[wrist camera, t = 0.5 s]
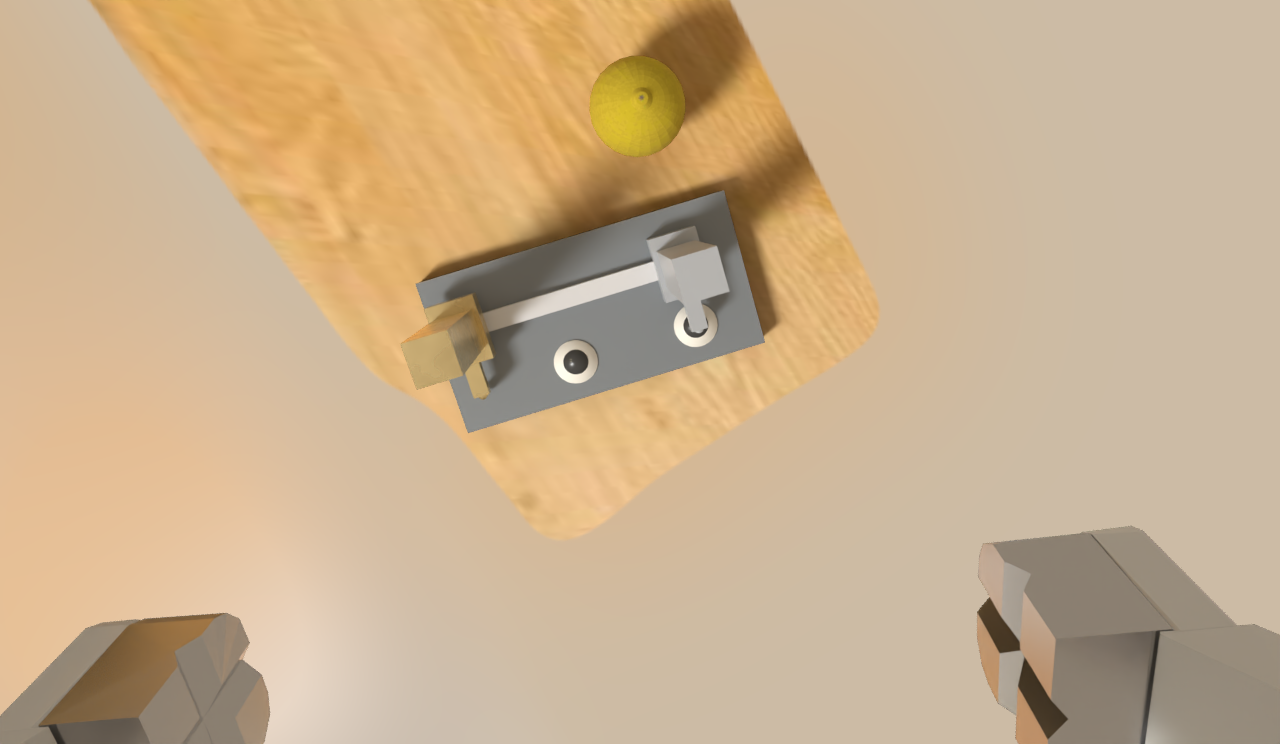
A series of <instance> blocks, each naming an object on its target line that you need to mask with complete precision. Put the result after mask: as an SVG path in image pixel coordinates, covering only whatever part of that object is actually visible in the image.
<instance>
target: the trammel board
mask: <svg viewBox="0 0 1280 744" xmlns="http://www.w3.org/2000/svg"><path fill="white" fill-rule="evenodd" d="M416 287H417V290H418V292H419V295H420V298H421V301H422V304H423V307H424V309H425V308H427V307H429V306H432V305H435V304H439V303H442V302H445V301H449V300H452V299H455V298H458V297H462V296H465V295H468V294H472V293H476V296H477V299H478V301H479V304H480V307H481V310H482V313H483V316H484V319H485V322H486V325H487V328H488V331H489V334H490V337H491V340H492V343H493V346H494V349H495V352H496V355H495V357H494V358H492V359H489V360H486V361H482V362H481V363H482V366H483V369H484V372H485V375H486V378H487V381H488V384H489V387H490V390H491V392H490V394H488V396H487V398H486V399H484V400H482V399H480V398H479V397H478V398H475V399H474V397H473V395H472V392H471V389H470V386H469V383H468V380H467V377H466V374H464V375H463V376H460V377H457V378H454V379H451V380H450V383H451V386H452V389H453V392H454V394H455V397H456V400H457V403H458V406H459V409H460V411H461V414H462V417H463V420H464V423H465V426H466V428H467V431H468V433H470V432H473V431H477V430H480V429H483V428H486V427H490V426H493V425H496V424H499V423H503V422H506V421H509V420H513V419H516V418H519V417H522V416H526V415H529V414H532V413H535V412H539V411H542V410H545V409H549V408H552V407H555V406H558V405H562V404H565V403H568V402H571V401H575V400H578V399H581V398H585V397H588V396H591V395H594V394H598V393H601V392H604V391H607V390H611V389H614V388H617V387H621V386H624V385H627V384H630V383H634V382H637V381H640V380H643V379H647V378H650V377H653V376H657V375H660V374H663V373H666V372H670V371H673V370H676V369H679V368H683V367H686V366H689V365H693V364H696V363H699V362H702V361H706V360H709V359H712V358H715V357H719V356H722V355H725V354H729V353H732V352H735V351H738V350H742V349H745V348H748V347H751V346H755V345H758V344H761V343H765V341H764V337H763V333H762V329H761V326H760V322H759V318H758V315H757V311H756V307H755V304H754V300H753V296H752V292H751V289H750V285H749V281H748V278H747V274H746V270H745V267H744V263H743V259H742V255H741V252H740V248H739V244H738V241H737V237H736V233H735V229H734V226H733V222H732V218H731V215H730V211H729V207H728V204H727V200H726V196H725V192H724V190H723V191H718V192H715V193H712V194H708V195H705V196H702V197H699V198H695V199H692V200H689V201H685V202H682V203H679V204H676V205H672V206H669V207H666V208H662V209H659V210H656V211H653V212H649V213H646V214H643V215H639V216H636V217H633V218H630V219H626V220H623V221H620V222H616V223H613V224H610V225H607V226H603V227H600V228H597V229H593V230H590V231H587V232H583V233H580V234H577V235H574V236H570V237H567V238H564V239H560V240H557V241H554V242H551V243H547V244H544V245H541V246H537V247H534V248H531V249H528V250H524V251H521V252H518V253H514V254H511V255H508V256H505V257H501V258H498V259H495V260H491V261H488V262H485V263H482V264H478V265H475V266H472V267H468V268H465V269H462V270H459V271H455V272H452V273H449V274H445V275H442V276H439V277H435V278H432V279H429V280H426V281H422V282H419V283H417V284H416Z"/></svg>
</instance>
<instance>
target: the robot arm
mask: <svg viewBox="0 0 1280 744" xmlns="http://www.w3.org/2000/svg"><path fill="white" fill-rule="evenodd" d="M978 577H979V579H980V581H981V583H982V584H983V586H984V588H985V590H986V591H987V593H988V595H989V596H990V597H989V598H988V599H987V601H986V602H985V603H984V604H983V605H982V607H981V608H980V609H979V611H978V612H977V639H978V645H979V651H980V657H981V663H982V667H983V669H984V672H985V675H986V678H987V681H988V684H989V686H990V688H991V690H992V692H993V694H994V696H995V698H996V701H997V702H998V704H1000V705H1001V706H1003V707H1004V708H1006V709H1007V710H1009V711H1011V712H1012V713H1014V714H1015V715H1016V737H1015V738H1016V740H1017V742H1018V743H1019V744H1280V635H1279V634H1276V633H1274V632H1272V631H1269V630H1267V629H1264V628H1262V627H1260V626H1257V625H1255V624H1252V625H1238V626H1237V625H1236V624H1235V623H1234V622H1233V621H1232V620H1231V619H1230V618H1229V617H1228V616H1227V615H1226V614H1225V613H1224V612H1223V611H1222V610H1221V609H1220V608H1219V607H1218V605H1217V604H1216V603H1214V601H1212V600H1211V599H1210V598H1209V597H1208V595H1207V594H1206V593H1204V591H1203V590H1202V589H1200V587H1199V586H1198V585H1197V584H1195V582H1194V581H1193V580H1192V579H1191V578H1190V577H1189V576H1188V575H1187V574H1186V573H1185V572H1184V571H1183V570H1182V569H1181V568H1180V567H1179V566H1178V565H1177V564H1176V563H1175V562H1174V561H1173V560H1172V559H1171V558H1170V557H1169V556H1168V555H1167V554H1166V553H1165V552H1164V551H1163V550H1162V549H1161V548H1160V547H1159V546H1158V545H1157V544H1156V543H1155V542H1154V541H1153V540H1152V539H1151V538H1150V537H1149V536H1148V535H1147V534H1146V533H1145V532H1144V531H1142V530H1140V529H1138V528H1135V527H1133V526H1128V527H1119V528H1111V529H1103V530H1095V531H1087V532H1082V533H1081V534H1071V535H1061V536H1052V537H1043V538H1033V539H1023V540H1014V541H1005V542H995V543H985V544H983V546H982V549H981V552H980V556H979V571H978ZM249 643H250V642H249V640H248V638H247V635H246V633H245V631H244V628H243V626H242V624H241V621H240V619H239V618H236V617H234V616H232V615H230V614H228V613H219V614H205V615H190V616H176V617H162V618H148V619H143V620H125V621H114V622H103V623H100V624H97V625H94V626H91V627H88V628H86V629H85V630H84V631H83V632H82V633H81V634H80V635H79V636H78V637H77V638H76V639H75V640H74V641H73V642H72V643H71V644H70V645H69V646H68V647H67V648H66V649H65V650H64V651H63V652H62V653H61V654H60V655H59V656H58V657H57V658H56V659H55V660H54V661H53V662H52V663H51V664H50V666H49V667H47V668H46V670H45V671H44V672H43V673H42V674H41V675H40V676H39V677H38V678H37V679H36V680H35V681H34V682H33V683H32V684H31V685H30V686H29V687H28V688H27V689H26V690H25V691H24V692H23V693H22V694H21V695H20V696H19V697H18V698H17V699H16V700H15V701H14V702H13V703H12V704H11V705H10V706H9V707H8V708H7V709H6V710H5V711H4V712H3V713H2V714H1V716H0V744H263V743H264V741H265V736H266V732H267V727H268V721H269V716H270V708H269V698H268V691H267V688H266V686H265V683H264V680H263V677H262V675H261V674H260V673H259V672H258V671H256V670H255V669H254V668H252V667H251V666H250V665H248V664H247V663H246V662H245V661H243V657H244V655H245V652H246V650H247V648H248V645H249Z"/></svg>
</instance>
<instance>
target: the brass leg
mask: <svg viewBox="0 0 1280 744" xmlns="http://www.w3.org/2000/svg"><path fill="white" fill-rule="evenodd" d="M424 312H425V314H426V317H427V320H428V323H429V324H428V325H426V326H425V327H424V328H422V329H421V330H419V331H418V332H416V333H415V334H414V335H412V336H411V337H409V338H408V339H407V340H405V341H404V342H402V343H401V344H400V345H401V348H402V351H403V353H404V356H405V359H406V362H407V364H408V367H409V370H410V373H411V375H412V378H413V381H414V384H415V386H416V389H417V390H418V389H421V388H424V387H428V386H431V385H434V384H437V383H441V382H444V381H447V380H451V379H454V378H457V377H460V376H463V375H464V374H466V377H467V380H468V383H469V386H470V389H471V392H472V395H473V397H474V399H475V398H478V397H479V398H480V399H482V400H484V399H486V398H487V396H488V394H490V392H491V390H490V387H489V384H488V381H487V378H486V375H485V372H484V369H483V366H482V363H481V362H482V361H486V360H489V359H492V358H494V357H495V355H496V352H495V349H494V346H493V343H492V340H491V337H490V334H489V331H488V328H487V325H486V322H485V319H484V316H483V313H482V310H481V307H480V304H479V301H478V299H477V296H476V293H472V294H468V295H465V296H462V297H458V298H455V299H452V300H449V301H445V302H442V303H439V304H435V305H432V306H429V307H427V308H425V309H424Z"/></svg>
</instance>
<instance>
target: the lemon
mask: <svg viewBox="0 0 1280 744" xmlns="http://www.w3.org/2000/svg"><path fill="white" fill-rule="evenodd" d="M589 111H590V116H591V121H592V124H593V127H594V129H595V131H596V133H597V135H598V136H599V137H600V138H601V140H602V141H603V142H604V143H605V144H606V145H607V146H608V147H610V148H611V149H612V150H614V151H616V152H618V153H620V154H623V155H625V156H633V157H642V156H649V155H652V154H654V153H656V152H659V151H661V150H662V149H663V148H665V147H666V146H667V145H669V144H670V143H671V142H672V140H673V139H674V138H675V137H676V136H677V134H678V132H679V130H680V128H681V126H682V124H683V120H684V115H685V95H684V92H683V89H682V86H681V83H680V82H679V80H678V78H677V77H676V75H675V74H674V73H673V72H672V71H671V70H670V69H669V68H668V67H667V66H666V65H665V64H663V63H661V62H660V61H658V60H656V59H653V58H650V57H646V56H629V57H626V58H622V59H619V60H618V61H616V62H614V63H612V64H611V65H609V66H608V67H607V68H606V69H605V70H604V71H603V72H602V73H601V74H600V76H599V77H598V79H597V81H596V82H595V84H594V86H593V89H592V93H591V96H590V109H589Z"/></svg>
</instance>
